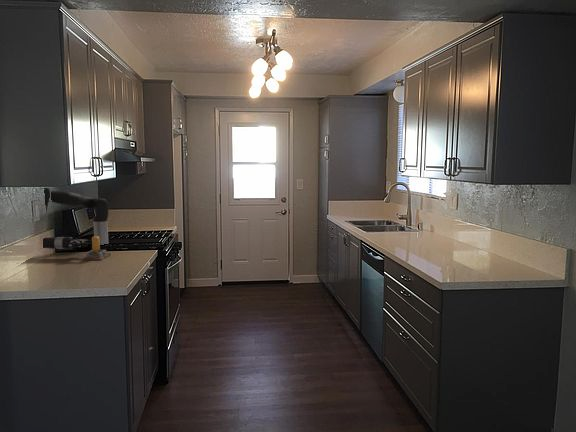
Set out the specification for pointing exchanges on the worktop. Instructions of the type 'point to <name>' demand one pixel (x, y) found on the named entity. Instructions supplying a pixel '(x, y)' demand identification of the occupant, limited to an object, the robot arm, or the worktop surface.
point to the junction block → (96, 255)
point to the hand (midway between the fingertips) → (90, 243)
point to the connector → (95, 244)
